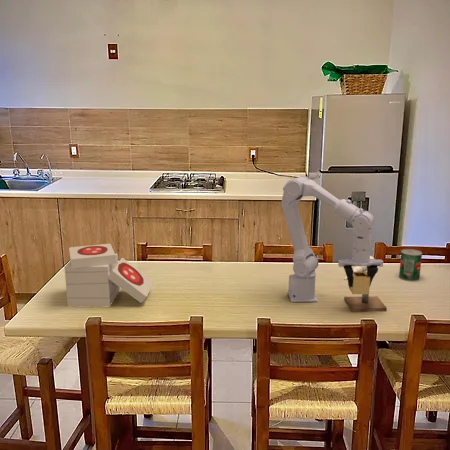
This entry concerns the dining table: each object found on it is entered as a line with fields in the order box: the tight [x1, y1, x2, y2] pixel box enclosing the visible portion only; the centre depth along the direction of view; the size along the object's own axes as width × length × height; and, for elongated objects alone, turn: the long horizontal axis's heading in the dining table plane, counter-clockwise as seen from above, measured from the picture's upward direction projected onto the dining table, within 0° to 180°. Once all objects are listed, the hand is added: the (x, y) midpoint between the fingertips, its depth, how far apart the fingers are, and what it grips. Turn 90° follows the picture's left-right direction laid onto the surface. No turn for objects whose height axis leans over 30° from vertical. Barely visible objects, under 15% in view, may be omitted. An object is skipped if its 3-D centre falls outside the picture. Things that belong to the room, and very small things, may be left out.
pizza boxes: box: [64, 243, 154, 307], centre depth 175 cm, size 19×30×18 cm, turn 89°
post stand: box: [343, 294, 388, 312], centre depth 170 cm, size 12×10×4 cm
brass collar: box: [348, 271, 371, 295], centre depth 165 cm, size 6×6×6 cm
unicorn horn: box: [344, 255, 375, 280], centre depth 204 cm, size 5×24×5 cm, turn 136°
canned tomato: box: [398, 248, 423, 282], centre depth 196 cm, size 8×8×11 cm
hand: (359, 286), depth 166 cm, fingers closed on brass collar, 5 cm apart
